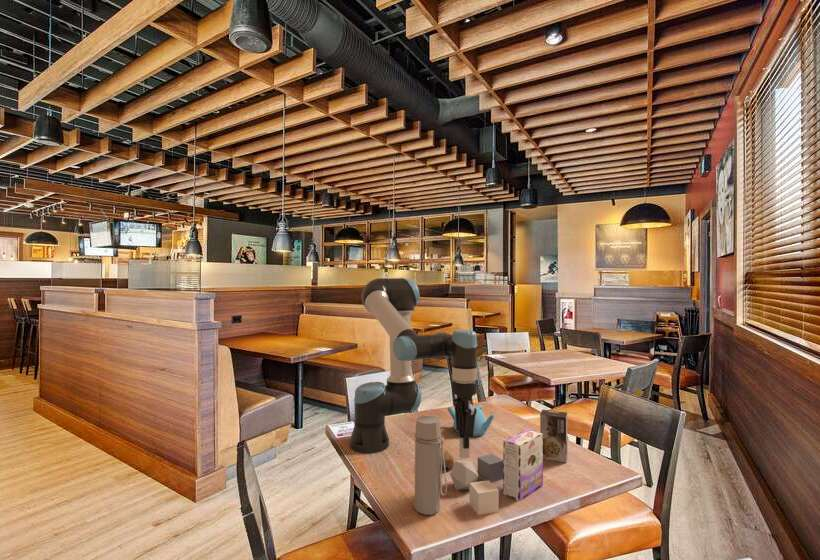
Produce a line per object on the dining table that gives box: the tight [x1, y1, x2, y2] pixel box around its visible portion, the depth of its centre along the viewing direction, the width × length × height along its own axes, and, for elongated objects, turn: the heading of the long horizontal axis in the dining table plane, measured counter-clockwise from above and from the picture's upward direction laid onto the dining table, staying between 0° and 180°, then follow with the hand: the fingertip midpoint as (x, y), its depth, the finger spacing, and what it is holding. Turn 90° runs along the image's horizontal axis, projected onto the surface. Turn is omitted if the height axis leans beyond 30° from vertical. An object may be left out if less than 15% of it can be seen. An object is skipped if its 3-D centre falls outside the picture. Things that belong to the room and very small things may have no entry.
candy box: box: [502, 428, 544, 502], centre depth 125 cm, size 14×6×16 cm, turn 133°
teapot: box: [447, 404, 496, 437], centre depth 175 cm, size 15×17×11 cm
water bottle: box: [414, 415, 448, 516], centre depth 114 cm, size 9×8×25 cm
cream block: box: [469, 480, 500, 516], centre depth 115 cm, size 6×6×6 cm
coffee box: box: [539, 409, 569, 463], centre depth 149 cm, size 9×6×16 cm
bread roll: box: [440, 447, 455, 474], centre depth 141 cm, size 10×10×8 cm
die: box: [449, 459, 479, 491], centre depth 127 cm, size 8×9×10 cm
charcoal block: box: [477, 453, 503, 484], centre depth 133 cm, size 6×6×6 cm
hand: (464, 457), depth 126 cm, fingers closed
